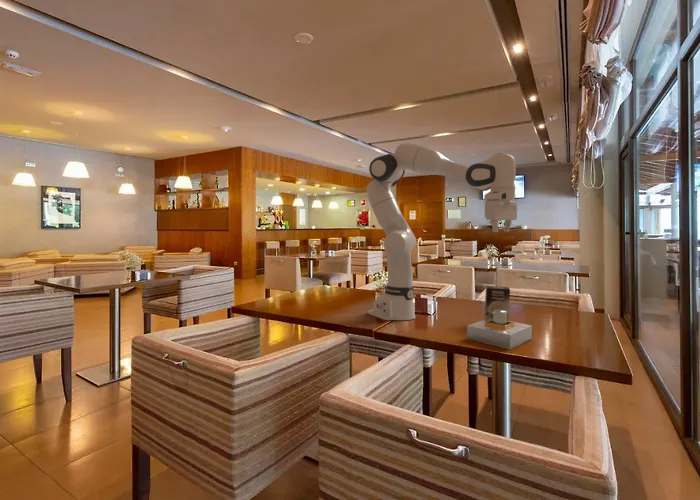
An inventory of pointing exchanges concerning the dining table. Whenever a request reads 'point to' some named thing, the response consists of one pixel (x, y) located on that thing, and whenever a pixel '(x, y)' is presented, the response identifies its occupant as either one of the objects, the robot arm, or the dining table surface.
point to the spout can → (499, 316)
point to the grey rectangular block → (499, 333)
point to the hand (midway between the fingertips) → (501, 231)
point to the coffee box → (496, 300)
